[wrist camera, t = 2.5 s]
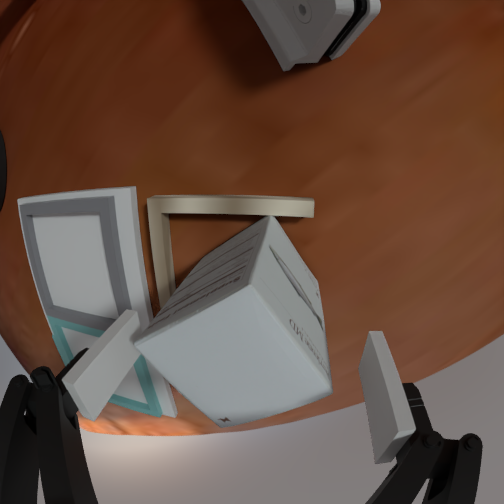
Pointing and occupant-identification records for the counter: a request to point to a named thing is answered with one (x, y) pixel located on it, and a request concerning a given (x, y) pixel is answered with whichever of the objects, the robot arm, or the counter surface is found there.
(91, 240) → the pocket plate
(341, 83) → the counter surface
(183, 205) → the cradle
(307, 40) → the gray curved slotted casing
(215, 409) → the supplement box
